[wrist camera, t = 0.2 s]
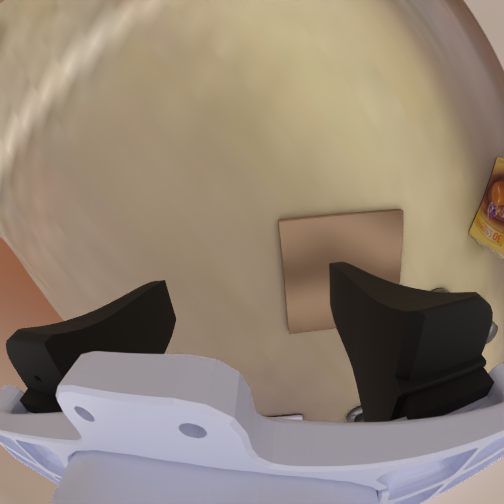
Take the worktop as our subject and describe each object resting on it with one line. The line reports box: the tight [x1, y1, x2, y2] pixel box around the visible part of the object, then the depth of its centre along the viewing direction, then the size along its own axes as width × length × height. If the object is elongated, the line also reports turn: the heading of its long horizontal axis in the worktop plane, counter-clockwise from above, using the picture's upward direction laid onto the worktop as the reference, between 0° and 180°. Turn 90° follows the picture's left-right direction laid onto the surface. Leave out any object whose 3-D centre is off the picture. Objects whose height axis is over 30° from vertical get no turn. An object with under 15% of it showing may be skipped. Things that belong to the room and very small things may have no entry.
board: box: [278, 209, 403, 334], centre depth 22 cm, size 10×10×1 cm
